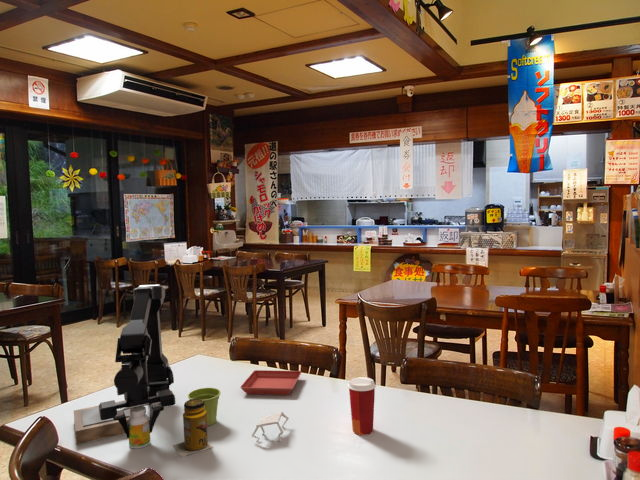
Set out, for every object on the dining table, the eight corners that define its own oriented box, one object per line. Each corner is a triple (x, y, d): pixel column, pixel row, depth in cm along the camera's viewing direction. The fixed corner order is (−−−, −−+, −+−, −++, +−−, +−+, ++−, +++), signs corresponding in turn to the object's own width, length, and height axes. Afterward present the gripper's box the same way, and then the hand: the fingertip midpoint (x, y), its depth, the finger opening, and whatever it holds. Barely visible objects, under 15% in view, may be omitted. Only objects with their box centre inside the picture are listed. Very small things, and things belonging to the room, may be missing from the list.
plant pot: (228, 418, 147) (227, 389, 146) (208, 431, 138) (207, 401, 138) (203, 413, 151) (201, 385, 150) (182, 426, 142) (180, 397, 142)
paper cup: (379, 426, 138) (378, 377, 137) (373, 438, 131) (372, 387, 130) (352, 423, 141) (351, 375, 140) (345, 435, 134) (343, 384, 133)
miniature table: (278, 447, 128) (277, 429, 128) (250, 442, 131) (249, 424, 131) (297, 427, 139) (296, 411, 139) (271, 423, 142) (270, 407, 142)
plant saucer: (254, 378, 182) (254, 369, 182) (302, 379, 179) (302, 370, 179) (239, 397, 164) (239, 387, 164) (292, 398, 162) (292, 388, 161)
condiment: (213, 447, 129) (211, 403, 128) (181, 457, 124) (179, 411, 124) (203, 437, 135) (201, 394, 134) (172, 446, 130) (170, 402, 130)
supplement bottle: (124, 447, 130) (122, 411, 130) (139, 438, 135) (137, 403, 135) (140, 450, 128) (138, 414, 128) (154, 441, 133) (152, 406, 133)
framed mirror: (131, 410, 154) (130, 398, 154) (138, 430, 140) (137, 416, 140) (74, 422, 147) (73, 409, 147) (76, 444, 133) (75, 430, 132)
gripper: (166, 363, 142) (168, 416, 143) (95, 376, 133) (99, 431, 134) (174, 374, 132) (177, 431, 133) (98, 388, 124) (102, 448, 125)
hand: (139, 434), depth 132 cm, fingers closed on supplement bottle, 5 cm apart
